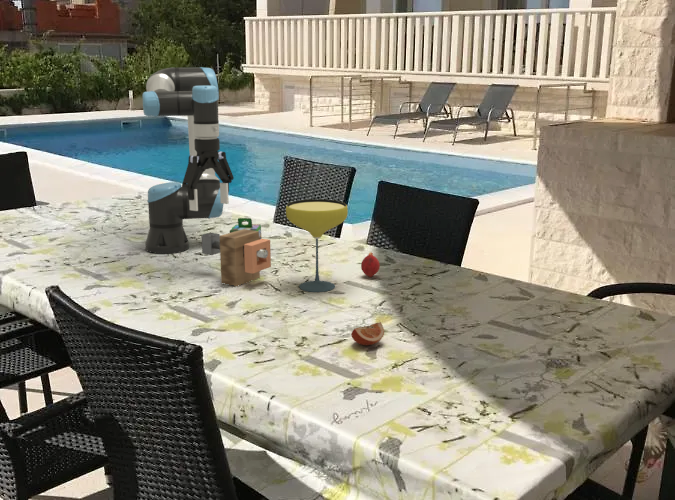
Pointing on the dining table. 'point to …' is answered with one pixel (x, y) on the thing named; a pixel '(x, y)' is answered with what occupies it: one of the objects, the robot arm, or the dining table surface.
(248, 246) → the orange boxy part
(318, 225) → the cocktail glass
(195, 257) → the dining table surface
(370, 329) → the fruit slice
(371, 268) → the onion
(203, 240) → the shaft
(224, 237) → the bearing block
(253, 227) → the chalk box
